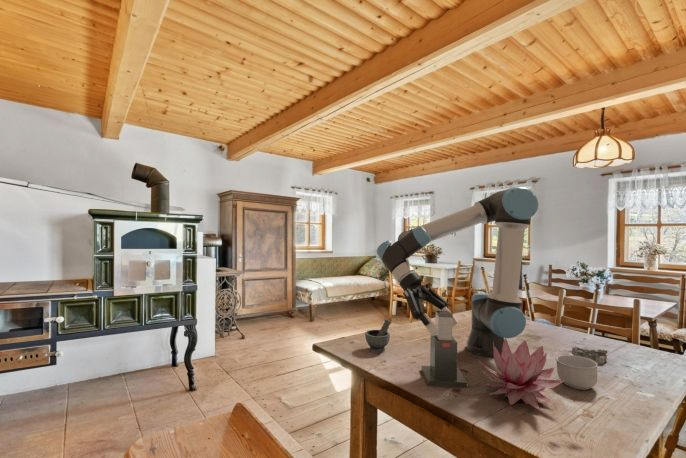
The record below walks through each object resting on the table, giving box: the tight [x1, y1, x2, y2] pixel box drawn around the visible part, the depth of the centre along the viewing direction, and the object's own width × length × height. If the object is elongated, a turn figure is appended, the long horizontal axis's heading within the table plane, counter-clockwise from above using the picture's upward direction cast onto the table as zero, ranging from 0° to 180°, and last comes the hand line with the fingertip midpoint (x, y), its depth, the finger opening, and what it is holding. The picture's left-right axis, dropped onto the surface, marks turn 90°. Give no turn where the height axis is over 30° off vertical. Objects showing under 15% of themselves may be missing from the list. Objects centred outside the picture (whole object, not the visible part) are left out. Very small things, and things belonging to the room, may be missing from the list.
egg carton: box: [571, 346, 608, 365], centre depth 130 cm, size 11×8×4 cm
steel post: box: [434, 310, 454, 341], centre depth 111 cm, size 4×4×20 cm
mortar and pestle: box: [364, 318, 392, 354], centre depth 136 cm, size 11×9×12 cm
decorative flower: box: [478, 338, 564, 409], centre depth 98 cm, size 21×21×15 cm
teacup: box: [555, 353, 599, 391], centre depth 108 cm, size 14×11×8 cm
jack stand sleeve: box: [420, 334, 468, 388], centre depth 111 cm, size 12×12×13 cm
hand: (446, 328), depth 110 cm, fingers open, 13 cm apart
